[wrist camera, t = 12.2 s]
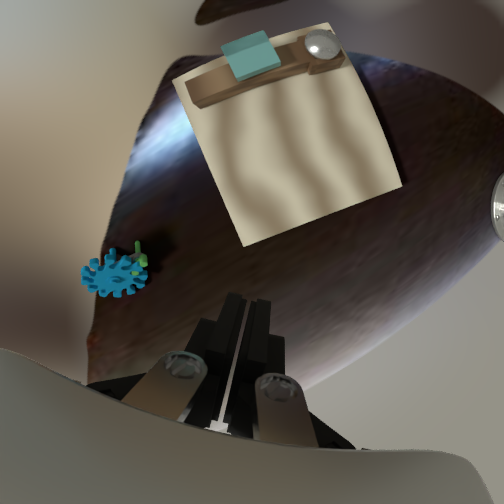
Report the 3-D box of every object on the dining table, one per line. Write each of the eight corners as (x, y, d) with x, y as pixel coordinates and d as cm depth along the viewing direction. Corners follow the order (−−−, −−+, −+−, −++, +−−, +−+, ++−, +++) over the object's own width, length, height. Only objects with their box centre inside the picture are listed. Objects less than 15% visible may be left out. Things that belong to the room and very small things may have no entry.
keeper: (265, 50, 30) (263, 30, 24) (280, 78, 31) (280, 61, 25) (229, 64, 31) (220, 46, 25) (242, 92, 32) (236, 78, 26)
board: (326, 27, 29) (327, 22, 28) (397, 185, 34) (402, 186, 33) (175, 83, 33) (172, 80, 32) (245, 244, 38) (243, 246, 37)
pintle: (324, 42, 29) (330, 25, 24) (338, 67, 30) (346, 53, 25) (296, 50, 29) (298, 33, 25) (309, 76, 30) (314, 62, 25)
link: (326, 40, 28) (330, 29, 25) (339, 67, 29) (345, 58, 26) (191, 85, 31) (182, 77, 28) (202, 113, 32) (194, 107, 29)
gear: (108, 307, 41) (65, 280, 33) (107, 275, 45) (68, 246, 36) (166, 284, 41) (128, 250, 32) (161, 251, 44) (127, 214, 36)
